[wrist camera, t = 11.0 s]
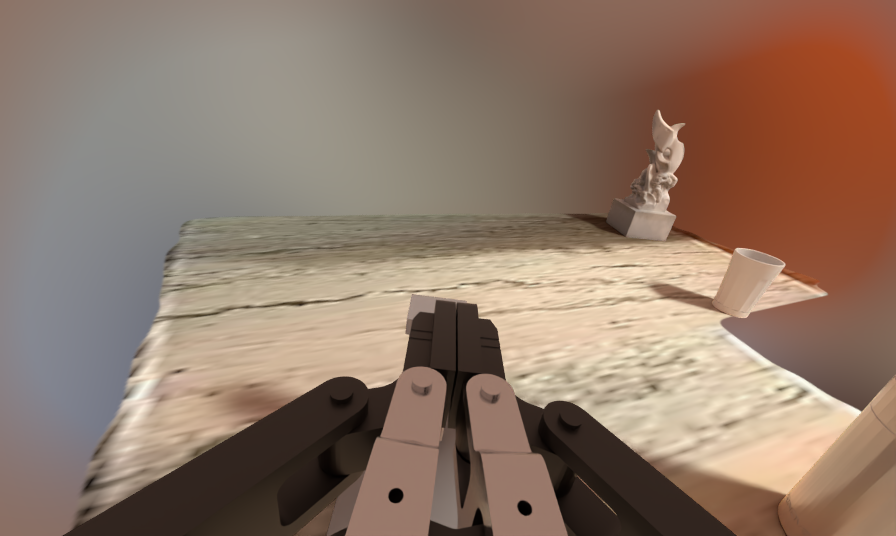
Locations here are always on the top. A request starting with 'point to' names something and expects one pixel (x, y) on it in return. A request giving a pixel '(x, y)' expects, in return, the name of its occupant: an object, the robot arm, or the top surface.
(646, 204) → the sculpture
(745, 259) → the cup
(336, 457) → the robot arm
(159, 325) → the top surface
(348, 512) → the switch base
